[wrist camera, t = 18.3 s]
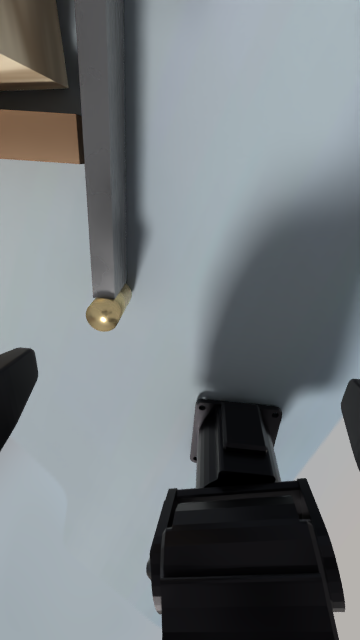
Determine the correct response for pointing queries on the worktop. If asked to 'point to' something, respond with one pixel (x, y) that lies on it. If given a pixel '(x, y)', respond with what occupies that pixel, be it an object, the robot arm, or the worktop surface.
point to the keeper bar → (104, 154)
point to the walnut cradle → (41, 136)
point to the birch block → (31, 46)
